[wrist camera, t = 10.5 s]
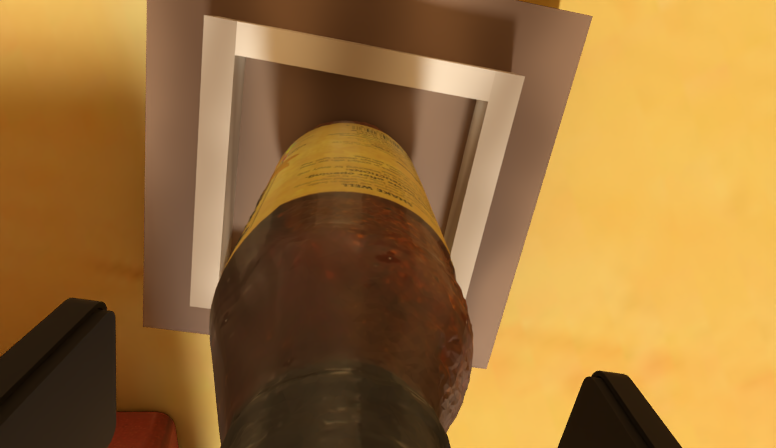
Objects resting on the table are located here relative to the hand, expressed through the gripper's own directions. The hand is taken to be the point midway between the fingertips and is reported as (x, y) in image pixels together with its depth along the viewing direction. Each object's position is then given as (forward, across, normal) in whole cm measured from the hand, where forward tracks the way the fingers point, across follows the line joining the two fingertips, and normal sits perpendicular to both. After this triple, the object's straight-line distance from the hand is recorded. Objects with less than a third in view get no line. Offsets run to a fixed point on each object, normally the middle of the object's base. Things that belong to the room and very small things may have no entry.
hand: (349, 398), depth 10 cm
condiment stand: (+18, +1, 0) cm, 18 cm away
